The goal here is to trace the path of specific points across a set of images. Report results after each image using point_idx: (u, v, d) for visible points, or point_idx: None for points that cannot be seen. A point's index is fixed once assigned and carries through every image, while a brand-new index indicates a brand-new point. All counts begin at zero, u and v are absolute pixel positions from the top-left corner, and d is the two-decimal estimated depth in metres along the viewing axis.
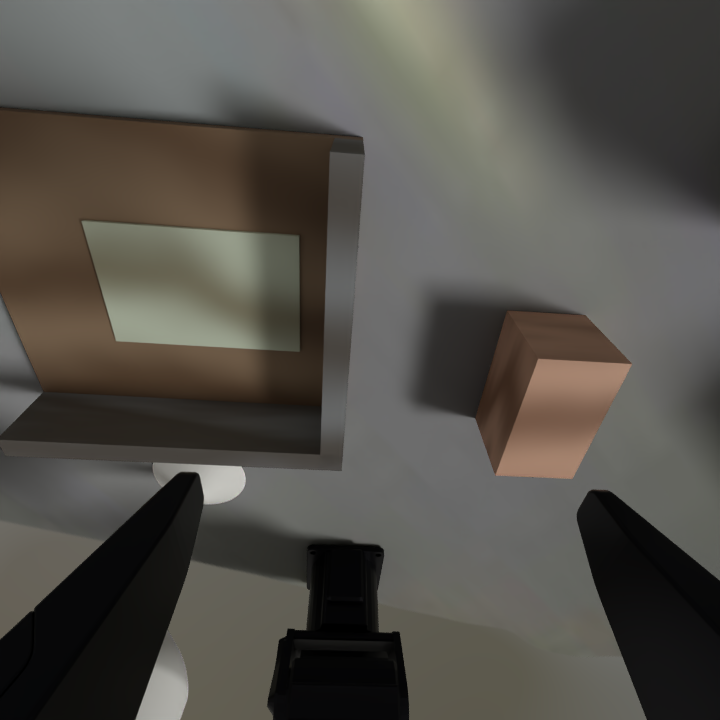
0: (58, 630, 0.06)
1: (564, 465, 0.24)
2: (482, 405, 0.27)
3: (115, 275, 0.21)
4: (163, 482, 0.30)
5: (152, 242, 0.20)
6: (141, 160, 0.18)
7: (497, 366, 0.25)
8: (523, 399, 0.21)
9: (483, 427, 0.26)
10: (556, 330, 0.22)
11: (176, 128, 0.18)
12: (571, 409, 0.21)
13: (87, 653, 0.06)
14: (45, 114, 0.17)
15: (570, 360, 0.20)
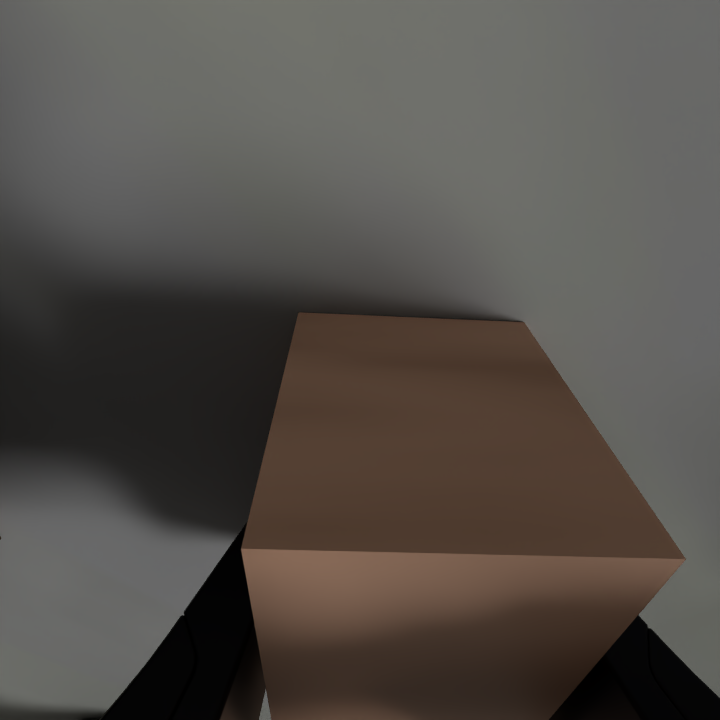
0: (214, 634, 0.06)
1: None
2: None
3: None
4: None
5: None
6: None
7: None
8: (264, 658, 0.06)
9: None
10: (412, 380, 0.07)
11: None
12: (454, 674, 0.06)
13: (244, 657, 0.06)
14: None
15: (397, 551, 0.04)
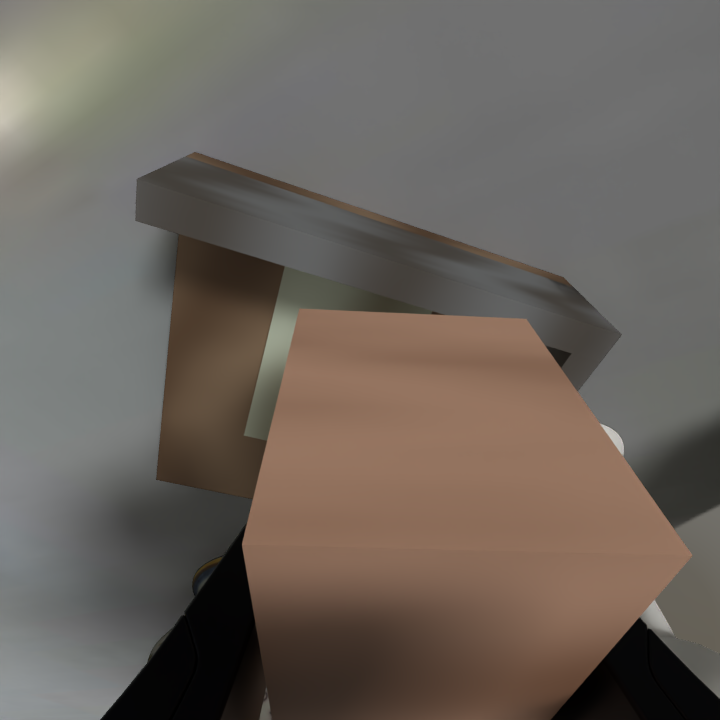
0: (215, 634, 0.06)
1: None
2: None
3: None
4: None
5: (270, 396, 0.21)
6: (198, 372, 0.20)
7: None
8: (264, 656, 0.05)
9: None
10: (414, 376, 0.07)
11: (172, 336, 0.19)
12: (456, 673, 0.06)
13: (245, 657, 0.06)
14: (163, 418, 0.22)
15: (399, 547, 0.04)
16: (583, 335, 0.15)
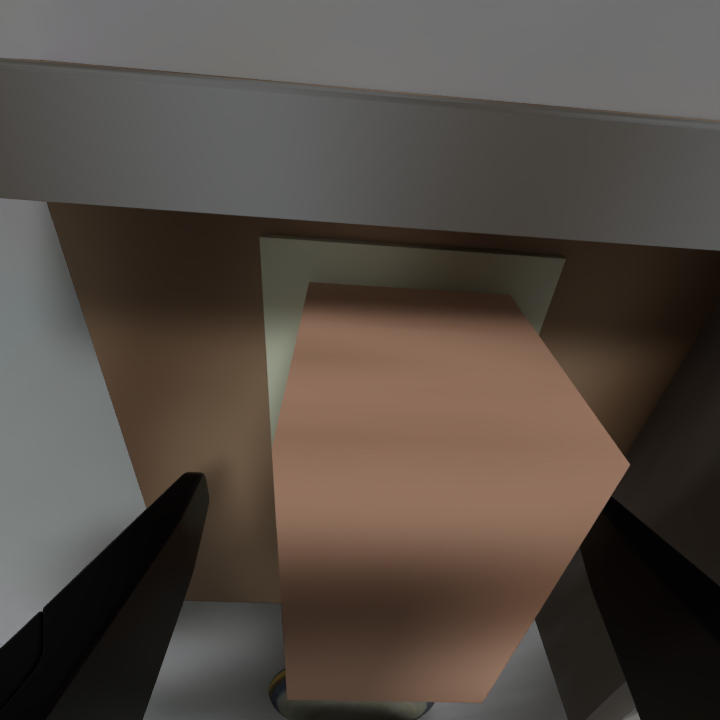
0: (67, 630, 0.06)
1: (456, 684, 0.09)
2: None
3: None
4: None
5: None
6: (179, 454, 0.12)
7: None
8: (281, 562, 0.06)
9: None
10: (410, 336, 0.08)
11: (119, 409, 0.12)
12: (443, 583, 0.07)
13: (96, 653, 0.06)
14: None
15: (397, 453, 0.05)
16: None
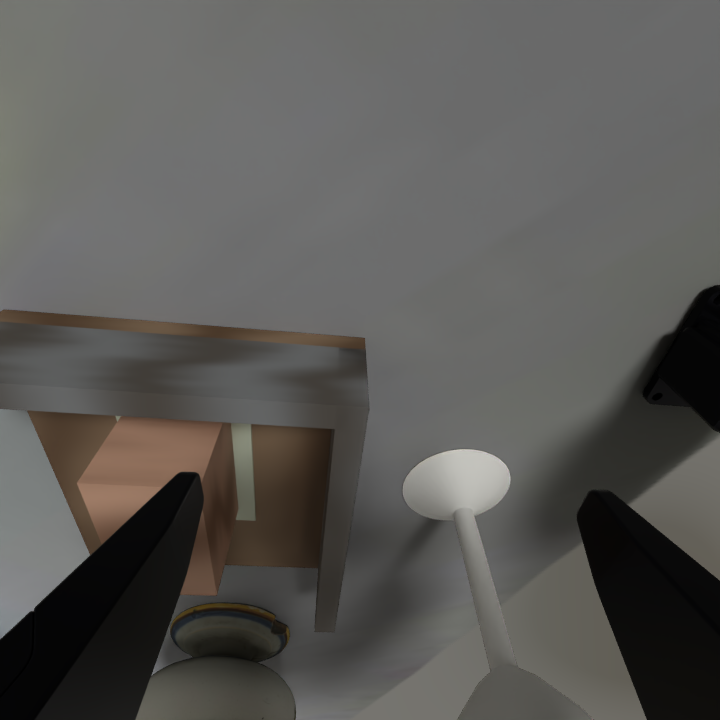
0: (58, 630, 0.06)
1: (197, 583, 0.20)
2: None
3: None
4: None
5: None
6: (82, 474, 0.23)
7: None
8: (93, 523, 0.17)
9: None
10: (159, 432, 0.18)
11: (47, 451, 0.22)
12: None
13: (87, 653, 0.06)
14: (73, 512, 0.25)
15: (119, 484, 0.16)
16: (335, 414, 0.16)
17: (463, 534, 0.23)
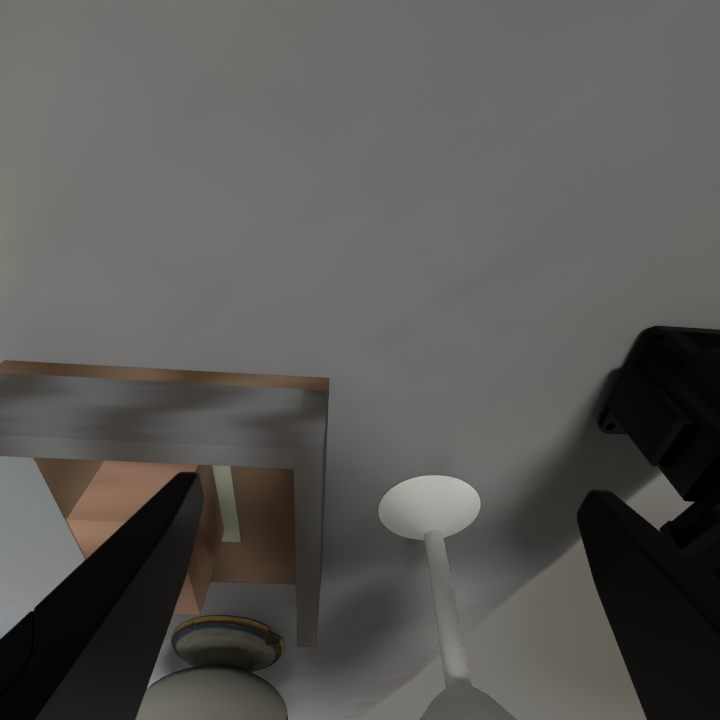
0: (58, 630, 0.06)
1: (180, 604, 0.22)
2: None
3: None
4: None
5: None
6: None
7: None
8: (83, 553, 0.19)
9: None
10: (142, 469, 0.20)
11: (48, 482, 0.24)
12: None
13: (87, 653, 0.06)
14: None
15: (103, 520, 0.18)
16: (292, 456, 0.18)
17: (431, 556, 0.24)
